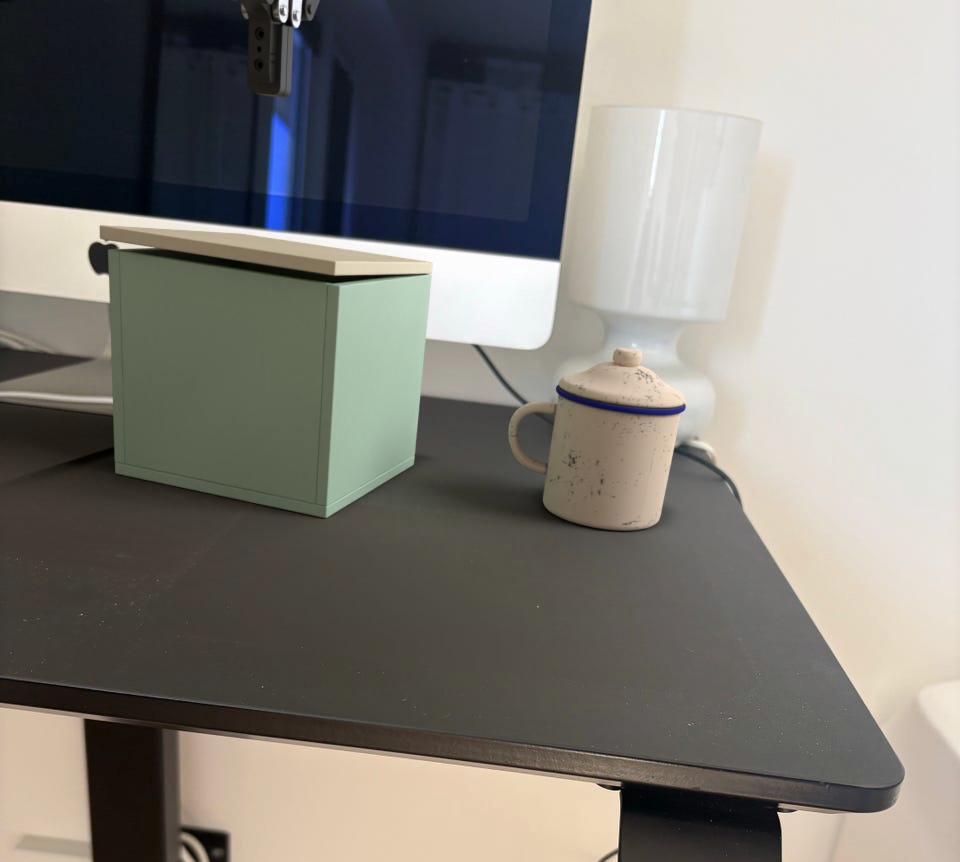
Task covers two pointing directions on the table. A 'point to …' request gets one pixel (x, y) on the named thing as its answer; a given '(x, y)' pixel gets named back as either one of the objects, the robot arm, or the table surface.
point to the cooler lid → (267, 251)
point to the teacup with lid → (607, 444)
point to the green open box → (264, 377)
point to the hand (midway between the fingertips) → (268, 94)
